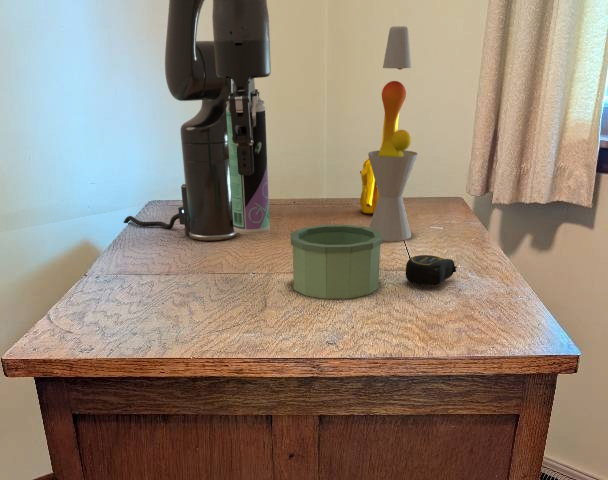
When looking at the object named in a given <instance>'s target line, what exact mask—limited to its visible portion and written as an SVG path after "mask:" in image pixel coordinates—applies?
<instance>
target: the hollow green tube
mask: <svg viewBox="0 0 608 480" xmlns="http://www.w3.org/2000/svg"><path fill="white" fill-rule="evenodd" d="M383 242H384V241H383V237H382V235H381V232H380V231H377V230H374V229H371V228H369V226H362V225H355V224H354V225H353V224H320V225H313V226H307V227H302V228H298V229H296V230H294V231H292V232H290V245H291V246H292V268H293V269H292V270H293V271H292V273H293V290H294V291H296V292H297V293H300V294H302V295H303V296H306V297H311V298H318V299H322V300H323V299H324V300H341V299H343V300H344V299H345V300H346V299H355V298H358V297H363V296H368V295H371V294H372V293H374V292H375V291H377V290H378V289H379V287H380V267H381V265H380V262H381V245H382V244H383Z"/></svg>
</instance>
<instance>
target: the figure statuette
mask: <svg viewBox="0 0 608 480" xmlns="http://www.w3.org/2000/svg"><path fill="white" fill-rule="evenodd" d="M399 116H400V113H399V114H398V117H397V120H396V126H395V132H396V131H398V128H399V127H398V125H399V118H400V117H399ZM385 121H386V119H385V114H384V115H383V126H382V135H381V145H380V147H381V146H382V143H383V139H384V133H385ZM359 173H360V176H361V178H360V179H361V182H362V183H361V189H362V191H361V194H360V198H359V199H360V200H359V204H360V208H361V212H362V213H364V214H374V211H375V208H376V205H377V202H378V199H379V192H378V188H377V185H376V181H375V178H374V174H373V171H372V167H371V163H370V160H369V157H368V158H367V159H366V160H365V161H364V162H363V166H362V170H361V171H359Z"/></svg>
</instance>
